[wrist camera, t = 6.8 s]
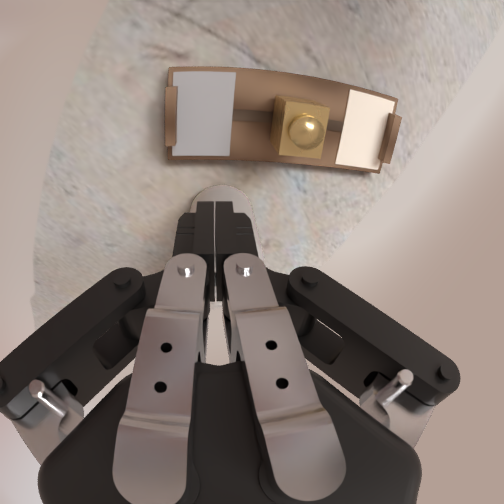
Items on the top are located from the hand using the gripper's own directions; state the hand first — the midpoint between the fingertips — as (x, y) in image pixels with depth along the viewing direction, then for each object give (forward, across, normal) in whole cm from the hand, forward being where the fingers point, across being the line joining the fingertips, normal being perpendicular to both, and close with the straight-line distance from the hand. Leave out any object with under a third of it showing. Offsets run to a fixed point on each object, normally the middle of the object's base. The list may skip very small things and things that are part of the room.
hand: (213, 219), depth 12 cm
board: (+20, -8, -1) cm, 21 cm away
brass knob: (+18, -8, -1) cm, 19 cm away
